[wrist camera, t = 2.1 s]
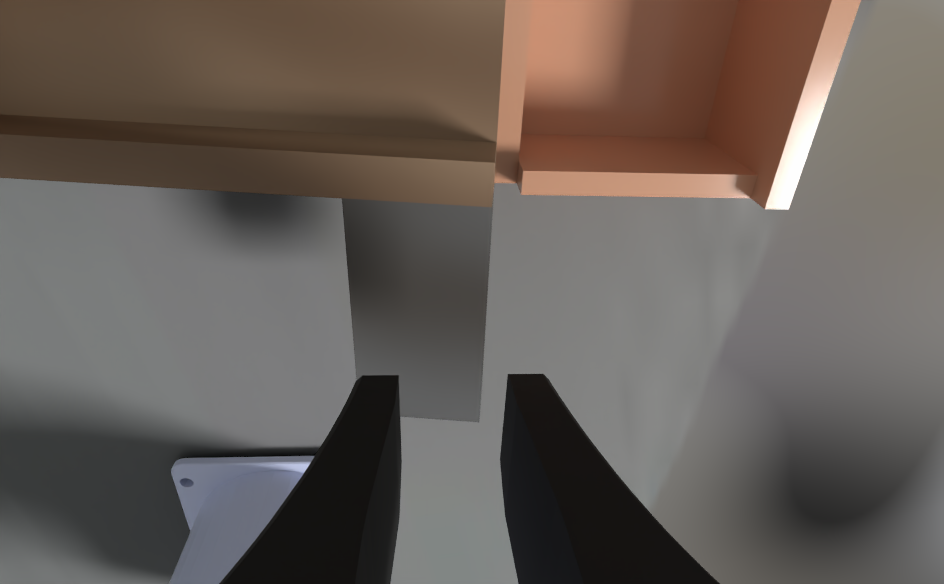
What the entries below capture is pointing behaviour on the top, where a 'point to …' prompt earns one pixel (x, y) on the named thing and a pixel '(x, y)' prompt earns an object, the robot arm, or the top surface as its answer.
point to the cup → (665, 95)
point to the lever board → (292, 141)
